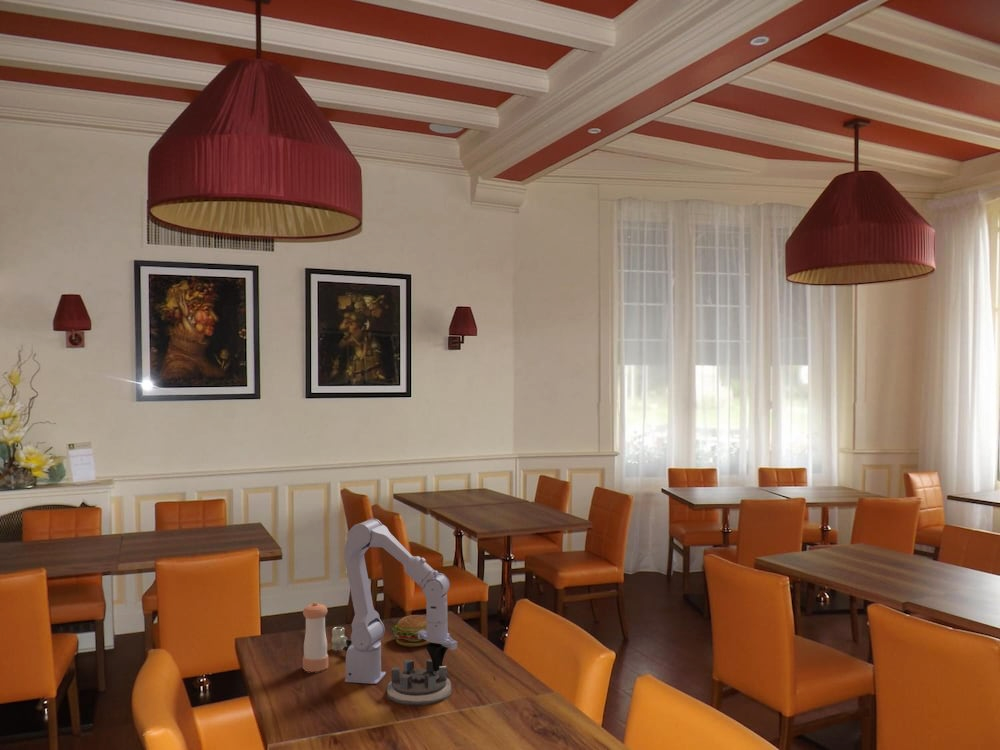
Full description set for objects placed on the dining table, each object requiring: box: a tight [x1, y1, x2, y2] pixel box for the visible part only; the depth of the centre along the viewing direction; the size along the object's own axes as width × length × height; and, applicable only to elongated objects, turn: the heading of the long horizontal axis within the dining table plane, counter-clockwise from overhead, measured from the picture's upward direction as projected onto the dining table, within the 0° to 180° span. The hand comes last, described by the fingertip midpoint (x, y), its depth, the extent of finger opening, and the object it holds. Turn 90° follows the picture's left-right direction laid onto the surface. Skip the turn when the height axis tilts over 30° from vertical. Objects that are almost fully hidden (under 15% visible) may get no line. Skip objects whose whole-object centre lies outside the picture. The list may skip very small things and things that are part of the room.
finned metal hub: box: [390, 658, 448, 695], centre depth 204 cm, size 15×15×4 cm
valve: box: [331, 626, 353, 652], centre depth 236 cm, size 7×7×12 cm
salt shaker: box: [302, 601, 329, 672], centre depth 223 cm, size 7×7×19 cm
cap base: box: [386, 677, 452, 707], centre depth 204 cm, size 17×17×2 cm
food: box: [391, 614, 430, 648], centre depth 245 cm, size 14×14×8 cm
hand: (437, 670), depth 209 cm, fingers closed
